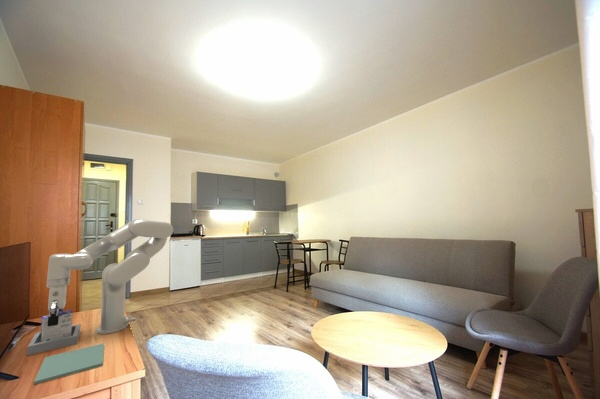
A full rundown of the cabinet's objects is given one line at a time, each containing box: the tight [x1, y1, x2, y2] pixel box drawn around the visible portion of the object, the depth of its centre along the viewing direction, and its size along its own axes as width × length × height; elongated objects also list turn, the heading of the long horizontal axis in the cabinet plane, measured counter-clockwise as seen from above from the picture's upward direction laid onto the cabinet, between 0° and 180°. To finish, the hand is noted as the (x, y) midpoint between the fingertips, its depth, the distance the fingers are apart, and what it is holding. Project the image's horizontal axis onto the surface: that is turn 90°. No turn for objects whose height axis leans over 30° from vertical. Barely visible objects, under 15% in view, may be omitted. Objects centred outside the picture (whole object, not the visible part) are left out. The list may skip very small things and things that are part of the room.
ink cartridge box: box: [40, 308, 73, 342], centre depth 113 cm, size 10×6×14 cm, turn 139°
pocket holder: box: [26, 323, 82, 356], centre depth 112 cm, size 15×15×4 cm
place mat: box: [33, 343, 105, 386], centre depth 97 cm, size 18×18×1 cm
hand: (54, 321), depth 112 cm, fingers open, 9 cm apart
